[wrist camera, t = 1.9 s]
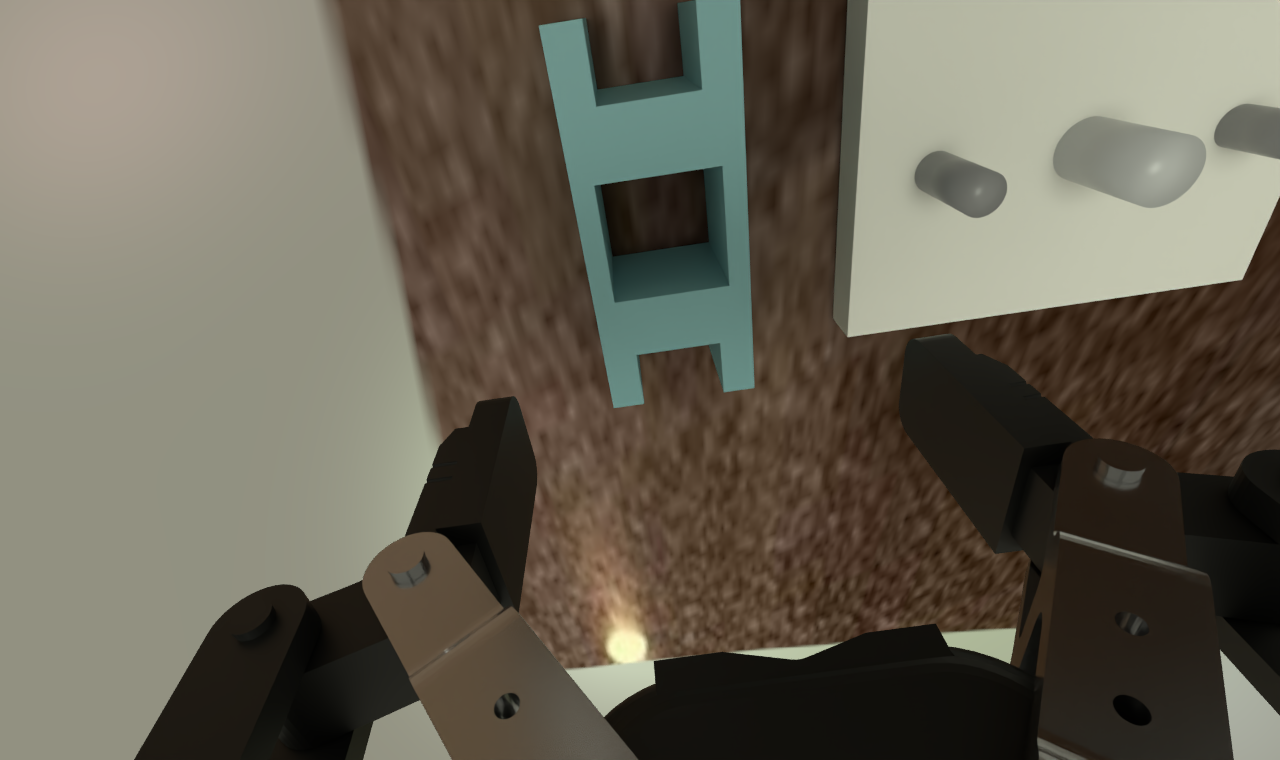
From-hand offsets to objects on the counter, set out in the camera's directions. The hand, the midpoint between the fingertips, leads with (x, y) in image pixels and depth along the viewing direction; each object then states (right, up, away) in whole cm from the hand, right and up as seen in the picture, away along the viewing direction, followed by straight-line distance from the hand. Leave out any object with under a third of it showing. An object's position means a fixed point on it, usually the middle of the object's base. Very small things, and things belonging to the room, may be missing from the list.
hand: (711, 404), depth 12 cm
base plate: (+16, +11, +13) cm, 23 cm away
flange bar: (-1, +8, +13) cm, 15 cm away
